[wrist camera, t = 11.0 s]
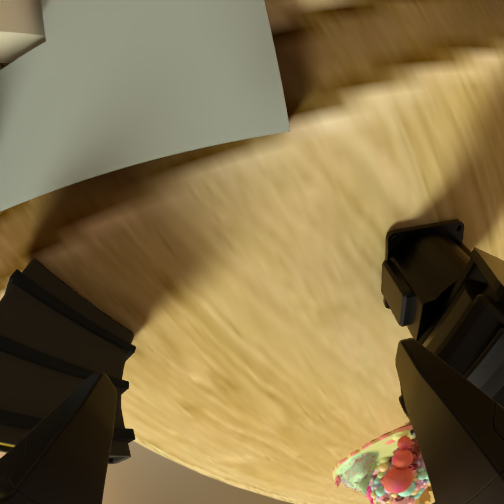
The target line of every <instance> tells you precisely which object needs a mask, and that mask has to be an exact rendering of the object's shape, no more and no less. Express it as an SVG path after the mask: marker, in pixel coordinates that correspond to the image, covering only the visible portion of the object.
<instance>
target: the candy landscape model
mask: <svg viewBox="0 0 504 504" xmlns="http://www.w3.org/2000/svg"><path fill="white" fill-rule="evenodd" d="M411 429H412V425H409V426H405V427H402V428H399V429H396V430H394V431H392V432H390V433H387V434H384V435H382V436H380V437H379V438H377V439H375V440H373V441H370V442H369V443H367V444H366V445H364V446H362V447H361V448H360V449H359V450H357V451H354V452H353V453H351V454H350V455H349V456H348V457H346V458H345V459H343V460H341V461H339V464H338V465H337V466H336V467H335V468H333V471H332V472H333V480H334V481H336V482H335V484H336V486H337V488H338V485H339V483H345V484H344V485H345V486H346V487H348V488H352V489H354V490H355V491H356V490H357V491H360V492H363V493H364V495H365V496H366V497H368V498H369V500H370V502H371V504H373V501H374V502H376V504H378V502H379V504H380V503H382V504H414V502H415V504H429V503H430V495H429V493H428V491H432V488H431V484H430V481H429V478H428V474H427V471H426V468H425V464H424V461H423V458H422V455H421V452H420V449H419V445H418V442H417V439H416V437H414V436H413V435H411V433H410V430H411Z"/></svg>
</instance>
